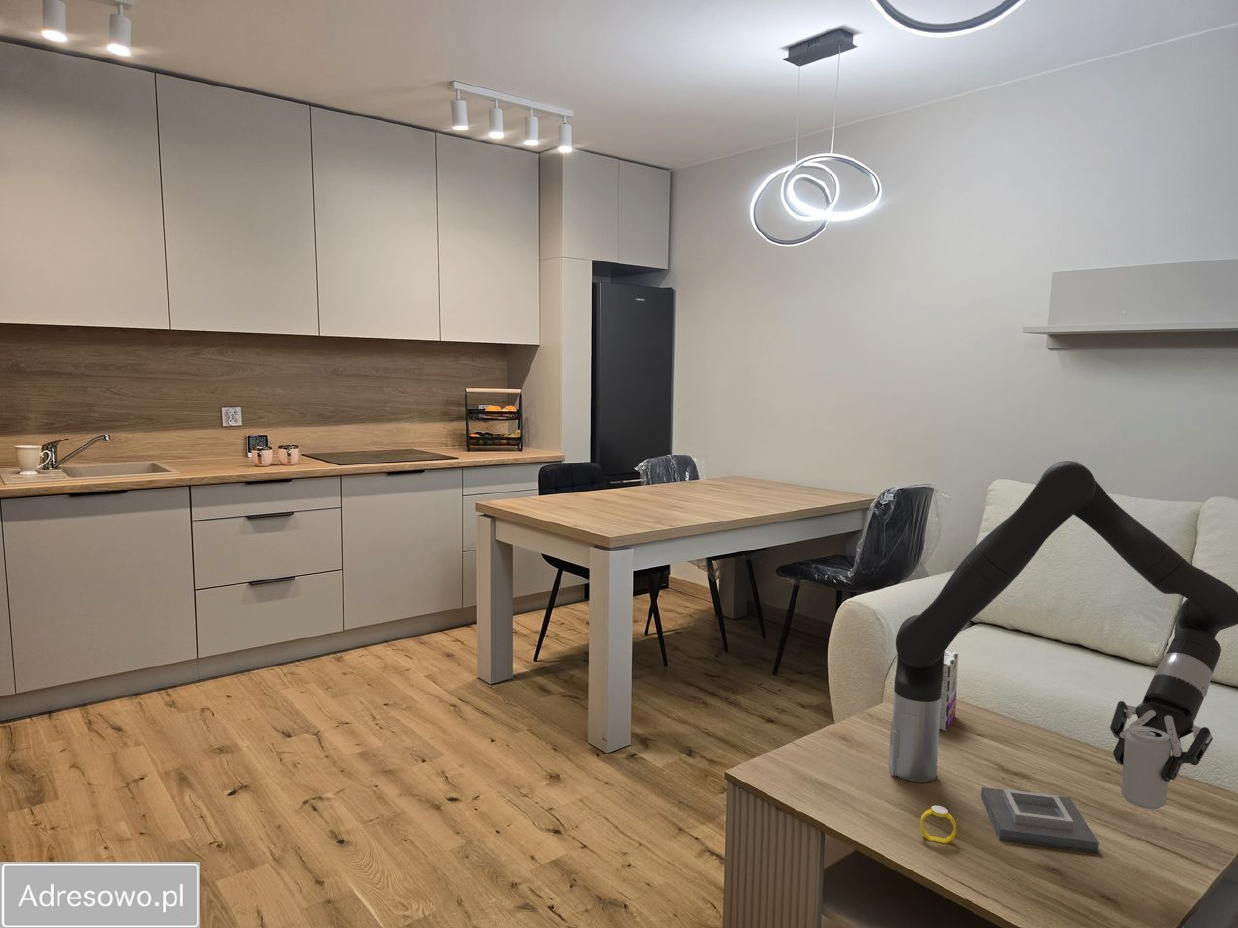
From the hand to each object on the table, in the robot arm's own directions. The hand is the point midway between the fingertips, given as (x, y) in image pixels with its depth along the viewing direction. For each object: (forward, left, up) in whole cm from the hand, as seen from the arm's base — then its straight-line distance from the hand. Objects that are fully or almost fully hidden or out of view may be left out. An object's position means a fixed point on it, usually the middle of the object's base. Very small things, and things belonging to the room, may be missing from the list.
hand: (1141, 770), depth 132 cm
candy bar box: (-21, +60, -19) cm, 66 cm away
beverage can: (+1, +1, -6) cm, 6 cm away
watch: (-30, +4, -19) cm, 36 cm away
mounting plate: (-11, +15, -19) cm, 27 cm away
